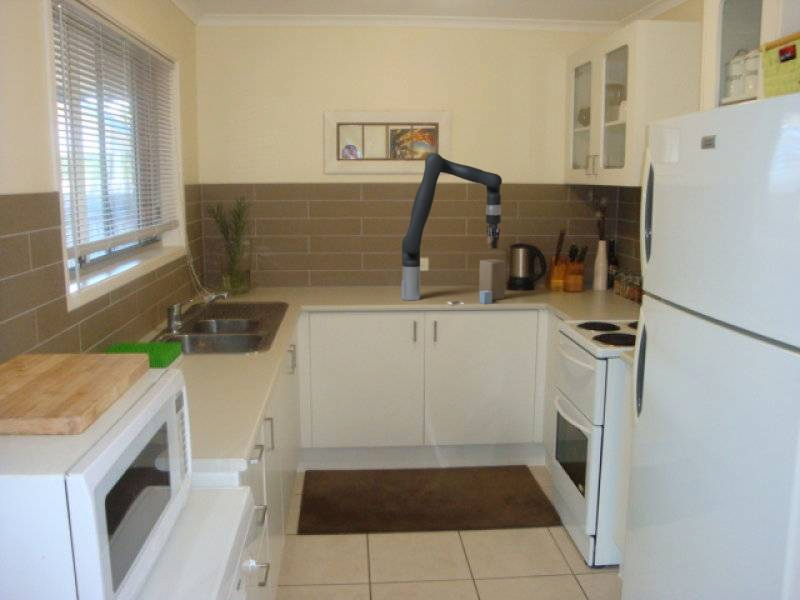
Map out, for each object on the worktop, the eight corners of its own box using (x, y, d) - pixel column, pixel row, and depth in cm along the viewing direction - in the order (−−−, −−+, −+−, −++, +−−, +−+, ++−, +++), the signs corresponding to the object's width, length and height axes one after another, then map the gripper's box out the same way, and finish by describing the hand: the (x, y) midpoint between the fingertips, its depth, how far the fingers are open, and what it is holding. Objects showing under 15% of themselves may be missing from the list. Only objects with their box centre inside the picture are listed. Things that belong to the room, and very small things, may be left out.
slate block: (484, 304, 351) (484, 292, 350) (479, 302, 355) (479, 291, 354) (491, 303, 353) (492, 291, 352) (486, 302, 357) (487, 290, 356)
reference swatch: (450, 305, 349) (450, 303, 349) (447, 302, 356) (447, 301, 356) (464, 304, 350) (464, 303, 350) (460, 301, 357) (460, 300, 357)
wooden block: (505, 299, 364) (506, 260, 361) (490, 301, 359) (491, 262, 355) (493, 296, 373) (493, 258, 369) (478, 298, 368) (478, 259, 364)
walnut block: (490, 249, 358) (490, 237, 357) (487, 248, 363) (487, 236, 362) (498, 248, 359) (498, 236, 358) (495, 247, 364) (495, 236, 363)
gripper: (482, 213, 364) (481, 246, 367) (490, 214, 350) (490, 249, 353) (495, 212, 365) (495, 245, 369) (505, 214, 352) (504, 248, 355)
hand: (492, 247), depth 361 cm, fingers closed on walnut block, 4 cm apart
